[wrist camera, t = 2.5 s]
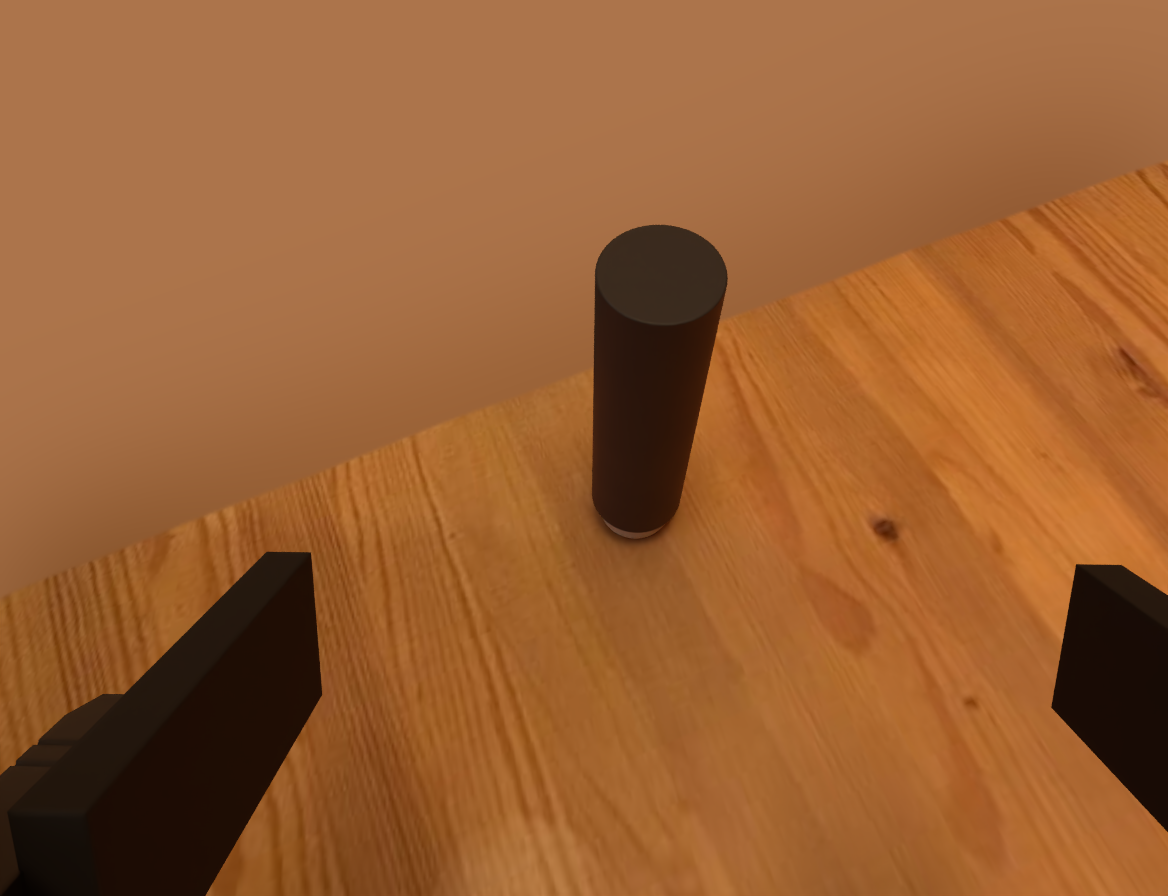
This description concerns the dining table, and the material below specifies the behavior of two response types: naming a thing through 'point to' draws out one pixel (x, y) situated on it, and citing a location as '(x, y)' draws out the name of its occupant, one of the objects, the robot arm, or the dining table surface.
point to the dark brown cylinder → (650, 369)
